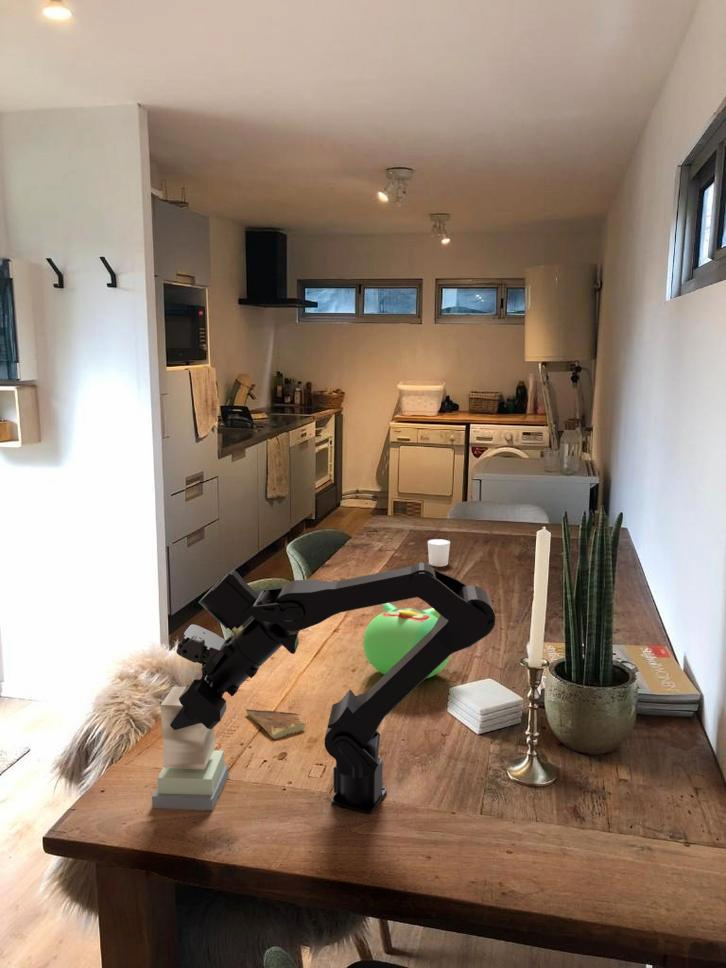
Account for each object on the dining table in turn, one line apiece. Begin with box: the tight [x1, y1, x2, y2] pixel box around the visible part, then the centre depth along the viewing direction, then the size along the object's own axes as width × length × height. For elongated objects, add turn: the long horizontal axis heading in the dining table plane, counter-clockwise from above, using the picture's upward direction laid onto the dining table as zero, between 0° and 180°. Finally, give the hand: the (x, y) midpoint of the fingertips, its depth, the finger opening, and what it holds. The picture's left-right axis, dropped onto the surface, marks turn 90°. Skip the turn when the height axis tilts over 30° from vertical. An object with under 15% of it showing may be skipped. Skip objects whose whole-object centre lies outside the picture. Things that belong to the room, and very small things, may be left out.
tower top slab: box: [157, 749, 225, 795], centre depth 116 cm, size 8×8×2 cm
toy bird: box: [362, 603, 452, 680], centre depth 155 cm, size 18×17×15 cm
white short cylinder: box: [427, 538, 451, 568], centre depth 233 cm, size 7×7×7 cm
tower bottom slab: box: [151, 764, 229, 812], centre depth 116 cm, size 9×9×2 cm
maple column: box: [160, 686, 216, 769], centre depth 114 cm, size 6×6×10 cm
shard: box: [245, 709, 307, 740], centre depth 138 cm, size 11×8×2 cm
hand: (179, 716), depth 114 cm, fingers closed on maple column, 6 cm apart
